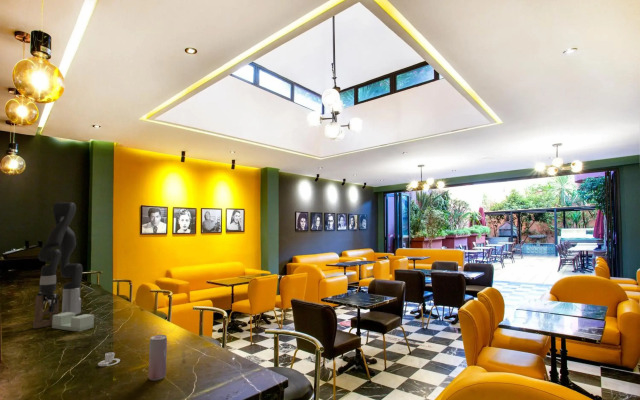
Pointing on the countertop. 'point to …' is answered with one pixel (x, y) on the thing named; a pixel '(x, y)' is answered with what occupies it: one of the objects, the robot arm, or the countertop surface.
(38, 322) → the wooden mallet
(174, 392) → the countertop surface
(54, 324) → the slotted beam
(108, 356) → the teacup and saucer
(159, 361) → the beverage can
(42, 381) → the countertop surface
